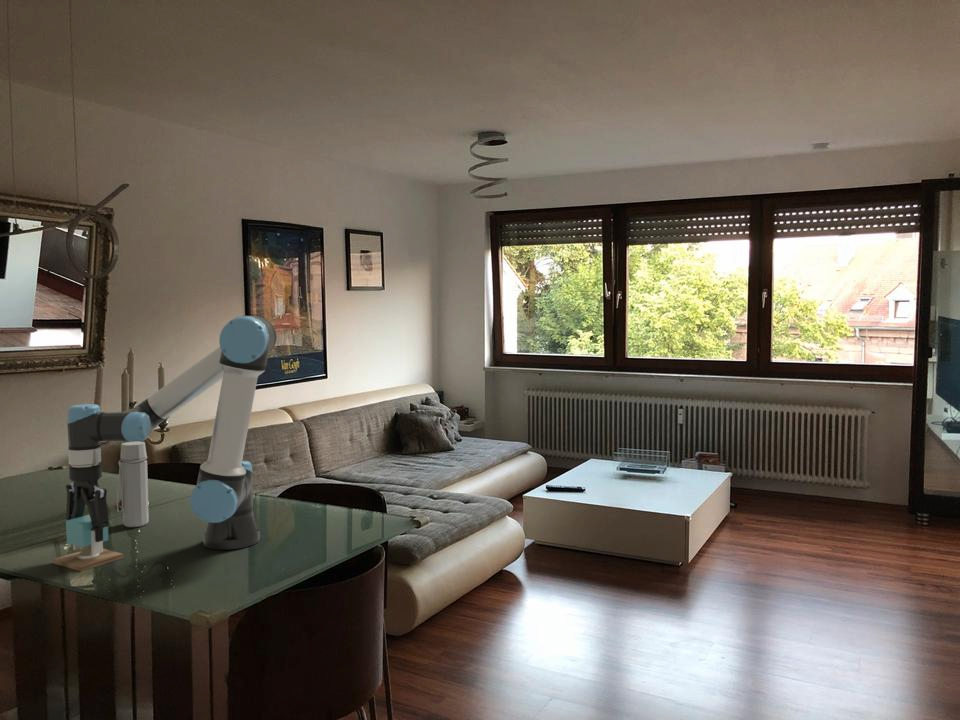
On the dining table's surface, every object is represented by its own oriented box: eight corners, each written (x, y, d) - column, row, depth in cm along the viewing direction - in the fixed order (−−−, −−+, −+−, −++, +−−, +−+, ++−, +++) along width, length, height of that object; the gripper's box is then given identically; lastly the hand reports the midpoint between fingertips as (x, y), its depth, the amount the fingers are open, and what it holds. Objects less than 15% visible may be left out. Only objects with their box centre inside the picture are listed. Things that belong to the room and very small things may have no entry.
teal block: (108, 539, 200) (107, 517, 200) (83, 547, 194) (82, 524, 193) (92, 536, 203) (91, 514, 203) (66, 543, 197) (65, 520, 197)
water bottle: (141, 519, 237) (139, 440, 235) (154, 524, 232) (151, 443, 230) (111, 526, 229) (108, 444, 228) (124, 531, 224) (121, 447, 223)
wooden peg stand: (123, 557, 201) (122, 520, 201) (80, 571, 191) (79, 532, 190) (95, 550, 207) (94, 514, 206) (52, 563, 197) (51, 525, 196)
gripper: (122, 465, 196) (125, 553, 197) (75, 457, 205) (78, 541, 207) (95, 471, 189) (98, 561, 191) (48, 462, 199) (51, 548, 201)
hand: (88, 550), depth 199 cm, fingers closed on teal block, 7 cm apart
